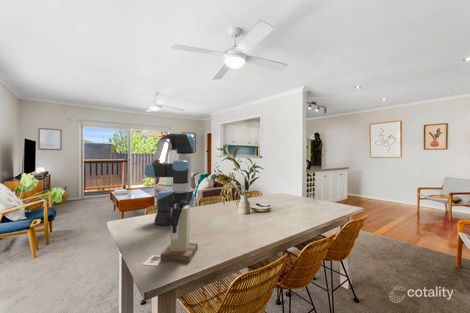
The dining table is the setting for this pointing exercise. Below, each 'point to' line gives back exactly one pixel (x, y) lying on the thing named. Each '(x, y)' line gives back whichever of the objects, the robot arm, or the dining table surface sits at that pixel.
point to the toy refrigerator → (182, 231)
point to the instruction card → (152, 260)
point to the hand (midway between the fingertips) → (180, 233)
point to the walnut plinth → (179, 254)
